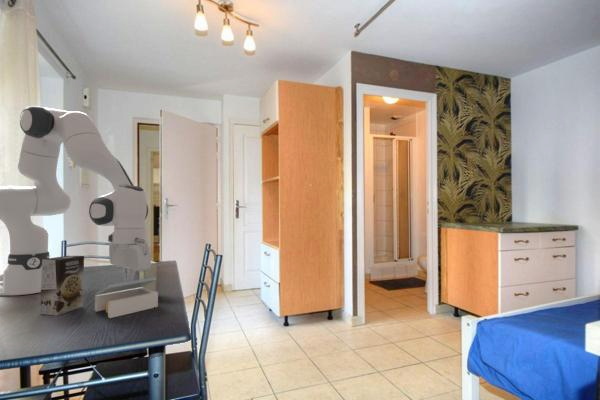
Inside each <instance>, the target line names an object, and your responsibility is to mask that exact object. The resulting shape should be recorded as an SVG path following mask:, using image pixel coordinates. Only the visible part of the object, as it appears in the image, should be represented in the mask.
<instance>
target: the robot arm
mask: <svg viewBox="0 0 600 400" xmlns="http://www.w3.org/2000/svg"><path fill="white" fill-rule="evenodd" d="M19 126H20V128H21V130H22V131H23V133H24V137H23V141H22V143H21V144H22V145H21V148H20V153H19V159H18V164H17V168H18V171H19V173H20V174H21V175H23V176H24V177H25V178H28V179H30V180H32V181H33V186H22V185H21V186H20V185H6V186H0V221H2V222H3V224H4V225H5V227H6V229H7V231H8V234H9V236H8V237H9V247H10V248H9V254H8V256H7V264H8V265H7V267H6V268H5V269H4V270H3V273H1V274H0V296H21V295H32V294H36V293H37V294H38V293H41V275H42V259H48V258H51V257H50V252H49V233H48V231H47V229H45V228H44V227H42V226H40V225H38V224H35V223H33V221H32V219H31V217H33V216H34V217H35V216H37V217H38V216H39V217H41V216H42V217H43V216H44V217H45V216H46V217H47V216H48V217H50V216H56V215H57V216H58V215H62V214H65V213H66V212H67V211H68V210H69V209H70V207H71V202H72V201H71V196H70V195H69V193H68V192H67V191H66V190H65V189H63V188H62V186H61V185H60V183H59V181H58V179H57V169H58V168H57V167H58V164H59V163H58V161H59V157H60V151H61V145H62V144H63V145H64V148H65V152H66V153H67V156H68V157H69V159H70V160H71V161H72V162H73V163H74V164H75V165H76V166H78V167H80V168H82V169H84V170H87V171H90V172H93V173H95V174H98V175H100V176H101V177H103V178H105V179H106V180H108V182H109V183H110V184H111V186H112V187H113V189H114V190H113V191H111V192H109V193H107V194H104V195H101V196H100V195H99V196H97V197H95V198H94V199H93V200H92V201H91V203H90V205H89V211H88V214H89V218H90V220H91V221H92V223H94V224H95V225H97V226H103V227H110V226H111V227H112V226H113V227H114V228H113V232H112V233H110V234H108V236H107V241H108V243H109V244H108V245H109V246H108V247H109V248H108V253H109V254H108V257H109V262H110V264H111V265H112V266H116V267H121V268H122V272H123V275H124V282H130V281H135V279H134V278H135V275H136V272H138V273H139V272H141V271H148V270H150V268H151V261H152V252H151V248H150V246H149V244H148V243H147V225H146V219H147V217H148V215H149V205H148V203H147V195H146V191H145V189H143V188H142V187H140V186H136V185H134V184H133V182H132V180H131V178H130V176H129V175H128V173H127V171H126V169H125V167H123V165H122V163H121V162H120V161H119V159H117V158H116V157H115V155H113V154H112V152H111V151H110V149H109V148H108V147H107V146H106V144H105V142H104V140H103V138H102V136H101V134H100V131H99V129H98V127H97V125H96V124H95V123H94V120H92V118H91V117H90V116H89V115H88V114H86V113H84V112H81V111H68V110H63V109H56V108H49V107H44V106H37V105H31V106H29V105H28V106H27V107H25V108H24V109H23V110H22V112H20V116H19Z"/></svg>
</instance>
